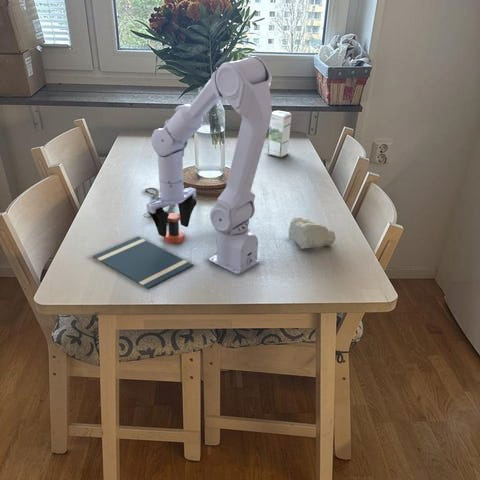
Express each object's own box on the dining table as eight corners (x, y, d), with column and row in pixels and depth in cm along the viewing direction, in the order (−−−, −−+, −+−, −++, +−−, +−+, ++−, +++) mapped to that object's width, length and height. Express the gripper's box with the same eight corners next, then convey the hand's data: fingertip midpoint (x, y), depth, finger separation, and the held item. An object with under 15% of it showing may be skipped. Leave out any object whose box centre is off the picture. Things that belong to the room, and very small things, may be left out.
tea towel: (193, 265, 120) (193, 264, 120) (147, 289, 111) (147, 287, 111) (138, 237, 130) (138, 236, 130) (92, 257, 121) (92, 255, 121)
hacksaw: (168, 225, 136) (168, 220, 135) (130, 224, 136) (130, 218, 135) (179, 190, 155) (179, 185, 154) (146, 188, 155) (145, 184, 154)
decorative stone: (342, 240, 129) (331, 218, 121) (317, 266, 129) (304, 245, 121) (313, 220, 135) (301, 198, 127) (290, 245, 135) (276, 224, 127)
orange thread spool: (188, 238, 130) (187, 215, 127) (173, 245, 127) (172, 222, 123) (174, 232, 133) (173, 209, 129) (159, 238, 130) (158, 215, 126)
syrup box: (288, 153, 185) (292, 112, 177) (280, 158, 181) (284, 116, 173) (274, 150, 188) (277, 109, 179) (266, 154, 184) (269, 113, 175)
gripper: (181, 166, 127) (183, 216, 135) (136, 182, 118) (141, 234, 126) (201, 174, 123) (202, 225, 132) (156, 191, 115) (160, 244, 123)
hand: (173, 230), depth 129 cm, fingers open, 7 cm apart
